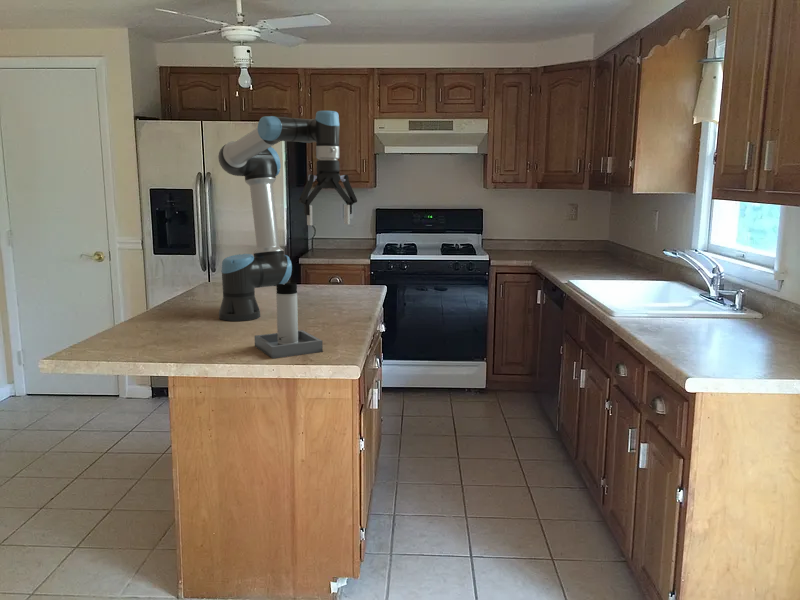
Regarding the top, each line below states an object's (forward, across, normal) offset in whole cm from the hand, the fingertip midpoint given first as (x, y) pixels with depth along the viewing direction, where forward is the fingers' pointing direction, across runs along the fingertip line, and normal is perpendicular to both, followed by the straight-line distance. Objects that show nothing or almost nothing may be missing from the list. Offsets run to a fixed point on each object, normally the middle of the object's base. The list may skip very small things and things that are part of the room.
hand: (328, 224), depth 219 cm
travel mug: (+36, -21, -15) cm, 44 cm away
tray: (+37, -21, -15) cm, 45 cm away
